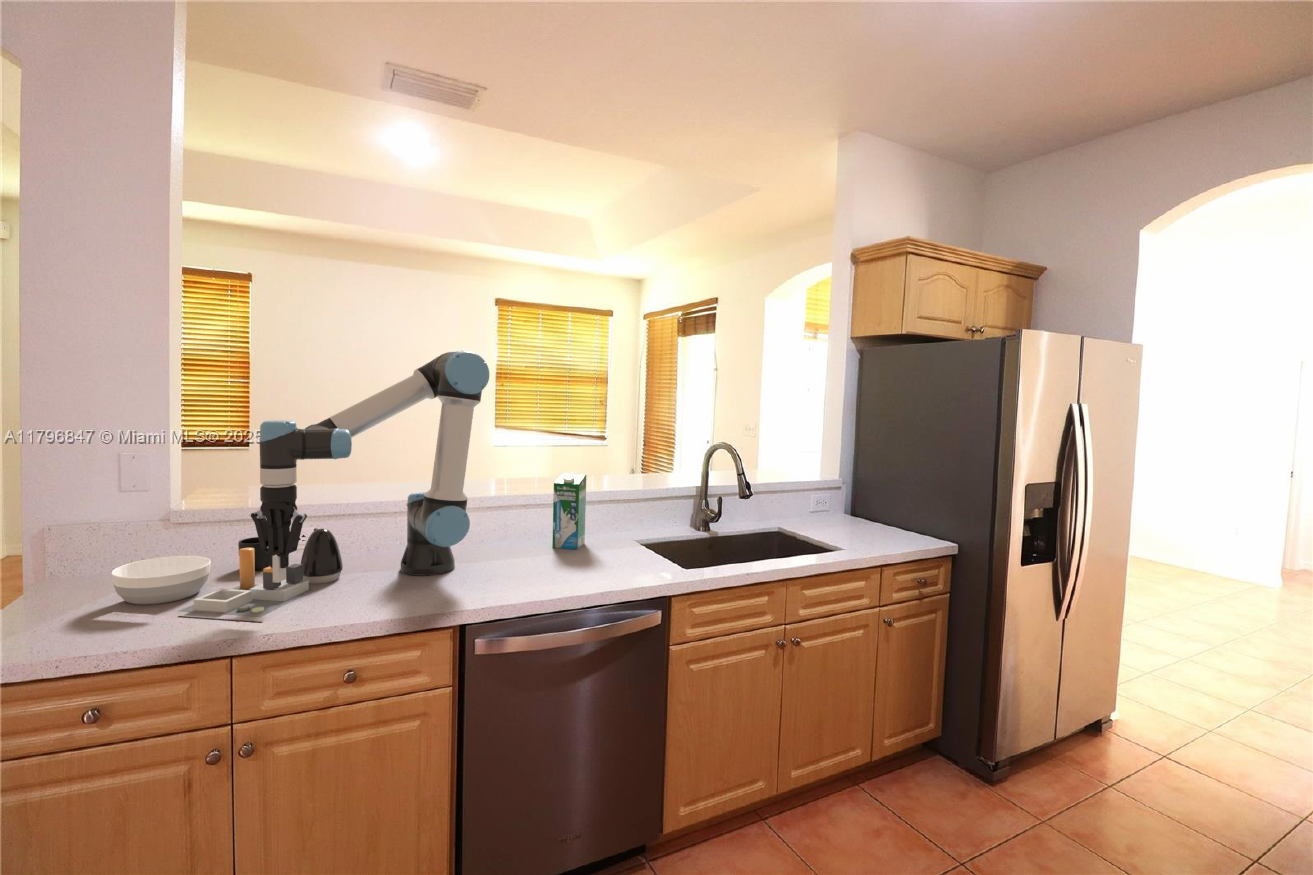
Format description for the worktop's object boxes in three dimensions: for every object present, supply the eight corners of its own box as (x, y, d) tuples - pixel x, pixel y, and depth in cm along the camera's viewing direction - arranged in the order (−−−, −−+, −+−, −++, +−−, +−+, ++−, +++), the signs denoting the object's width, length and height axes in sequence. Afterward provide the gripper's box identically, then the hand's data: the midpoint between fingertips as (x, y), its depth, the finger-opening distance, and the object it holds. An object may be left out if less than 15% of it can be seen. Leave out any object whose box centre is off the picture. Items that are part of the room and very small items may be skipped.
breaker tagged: (281, 585, 152) (281, 566, 152) (272, 589, 149) (272, 569, 149) (271, 584, 152) (271, 565, 152) (262, 588, 149) (262, 569, 149)
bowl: (158, 587, 160) (157, 554, 159) (229, 590, 160) (228, 557, 159) (89, 613, 141) (88, 575, 141) (169, 617, 141) (168, 579, 140)
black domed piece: (335, 575, 174) (335, 522, 173) (348, 585, 167) (347, 529, 166) (294, 582, 167) (294, 527, 166) (306, 592, 160) (305, 534, 159)
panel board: (316, 594, 159) (316, 579, 158) (260, 623, 139) (260, 605, 139) (243, 589, 160) (243, 574, 160) (178, 617, 141) (177, 600, 140)
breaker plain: (303, 579, 157) (303, 564, 156) (295, 583, 154) (295, 567, 153) (294, 579, 157) (294, 563, 157) (286, 582, 154) (286, 567, 154)
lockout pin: (257, 586, 159) (257, 548, 158) (248, 590, 156) (248, 551, 155) (246, 585, 159) (245, 547, 158) (236, 589, 156) (236, 550, 155)
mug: (284, 575, 173) (284, 542, 172) (234, 578, 169) (234, 544, 168) (291, 567, 181) (291, 535, 180) (244, 570, 177) (243, 537, 176)
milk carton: (552, 547, 213) (553, 476, 211) (560, 541, 222) (562, 472, 220) (577, 549, 212) (579, 477, 210) (584, 543, 220) (586, 474, 219)
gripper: (314, 483, 152) (314, 577, 153) (264, 481, 153) (265, 574, 154) (294, 488, 144) (294, 587, 146) (241, 485, 145) (242, 583, 147)
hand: (279, 580), depth 150 cm, fingers closed
